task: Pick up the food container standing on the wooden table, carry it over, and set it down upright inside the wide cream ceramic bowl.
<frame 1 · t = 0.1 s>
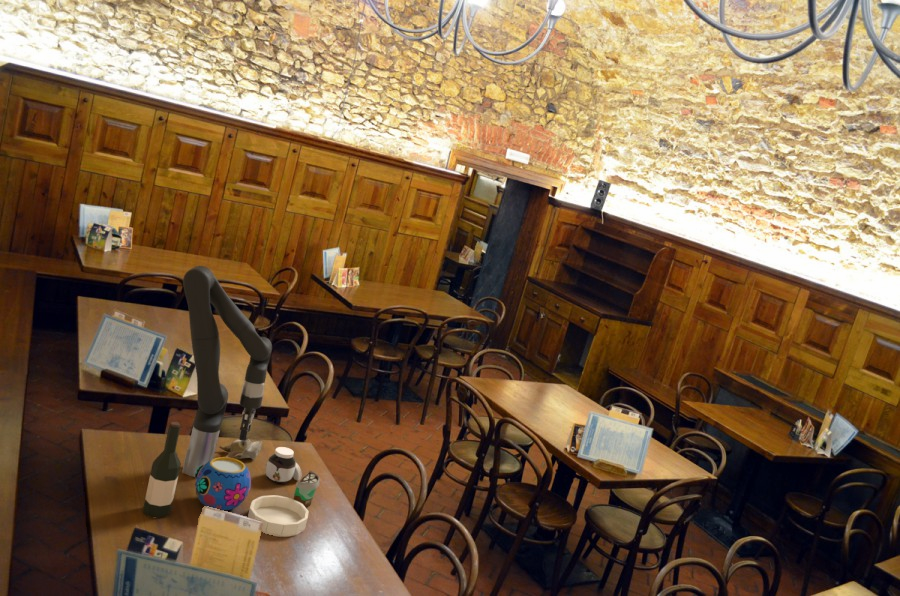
hand: (244, 435, 261), 17 cm above the table, fingers open, 8 cm apart
food container: (305, 504, 260), on the table
bowl: (276, 521, 243), on the table
wine bottle: (156, 512, 230), on the table
ceramic pot: (218, 506, 243), on the table
ceramic sculpture: (239, 458, 282), on the table
spread jar: (282, 479, 274), on the table
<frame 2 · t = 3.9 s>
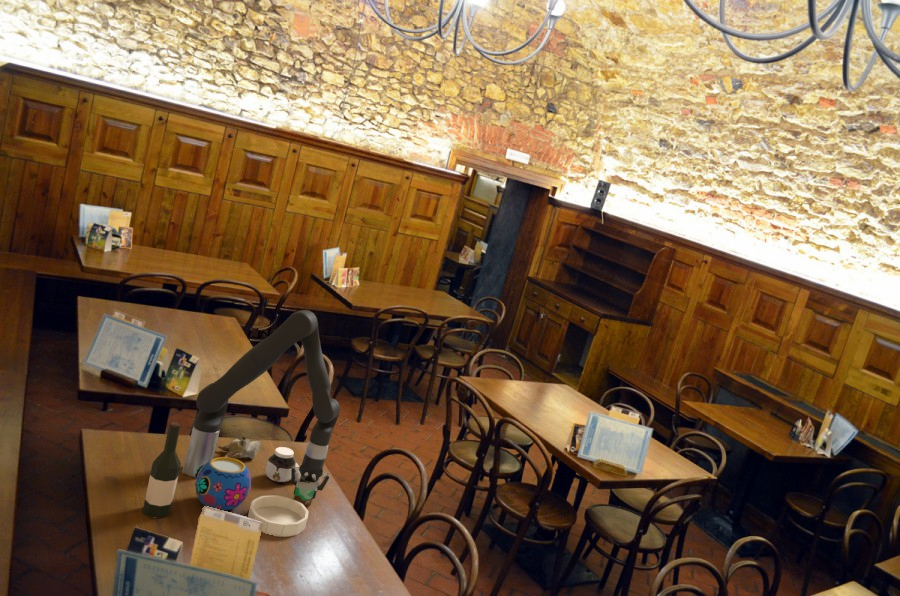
hand: (303, 497, 259), 2 cm above the table, fingers closed on food container, 5 cm apart
food container: (305, 504, 260), on the table, touching gripper
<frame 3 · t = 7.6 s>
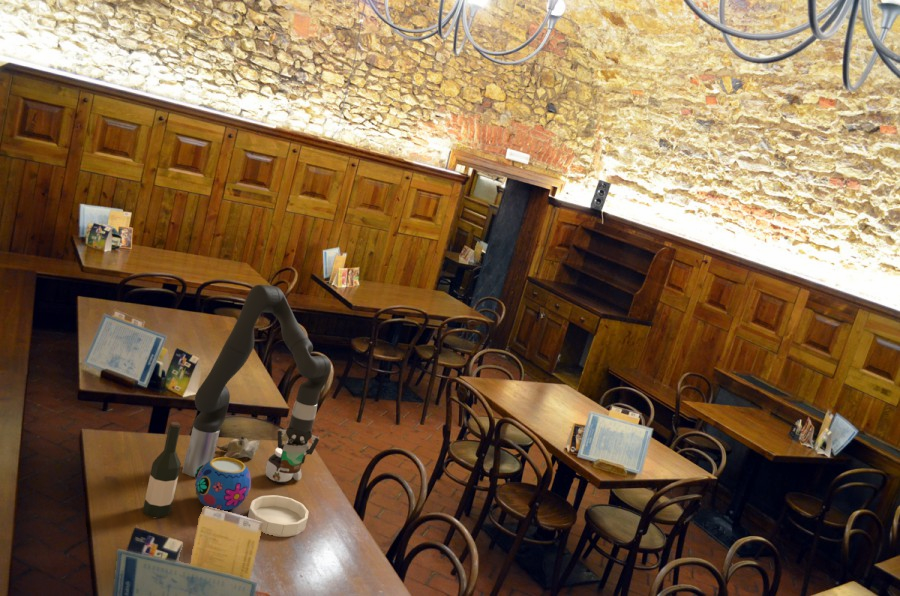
hand: (292, 462, 240), 21 cm above the table, fingers closed on food container, 5 cm apart
food container: (293, 470, 241), point 19 cm above the table, touching gripper
when the fingers open (5 cm above the table, at t = 11.0 s): food container stays where it is, resting on bowl.
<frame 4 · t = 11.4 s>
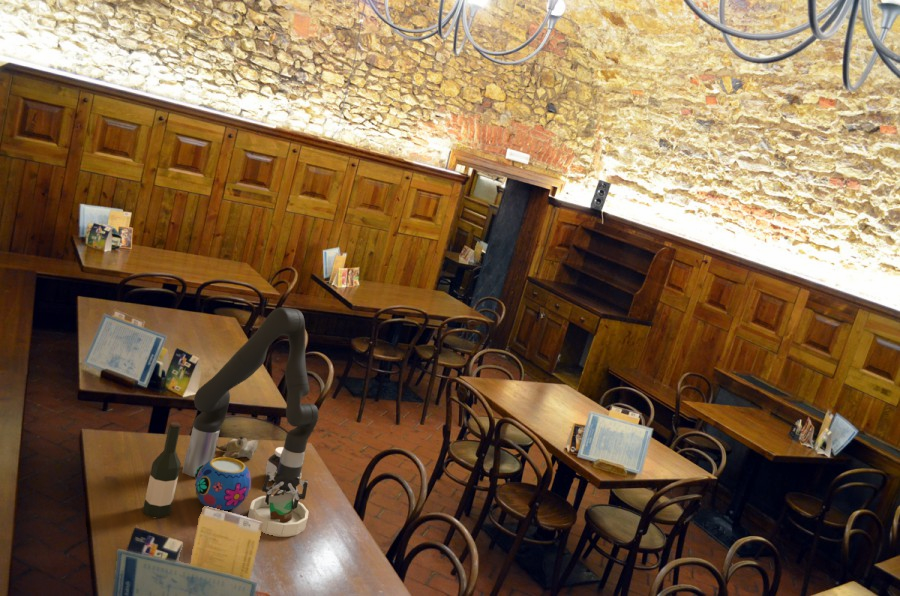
hand: (280, 506, 242), 6 cm above the table, fingers open, 8 cm apart
food container: (285, 519, 243), point 1 cm above the table, touching bowl, gripper
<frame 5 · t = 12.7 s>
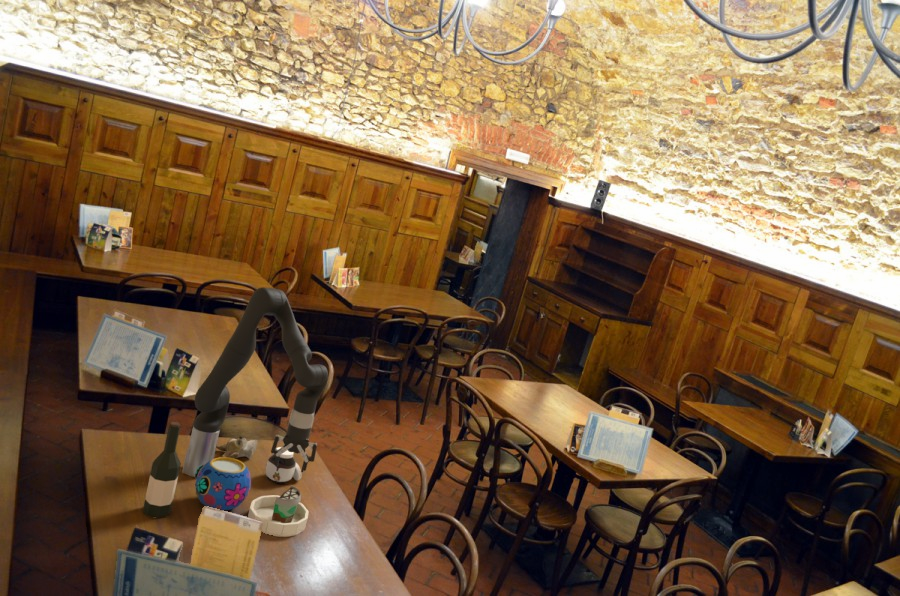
hand: (289, 468, 240), 19 cm above the table, fingers open, 8 cm apart
food container: (285, 521, 243), point 1 cm above the table, touching bowl
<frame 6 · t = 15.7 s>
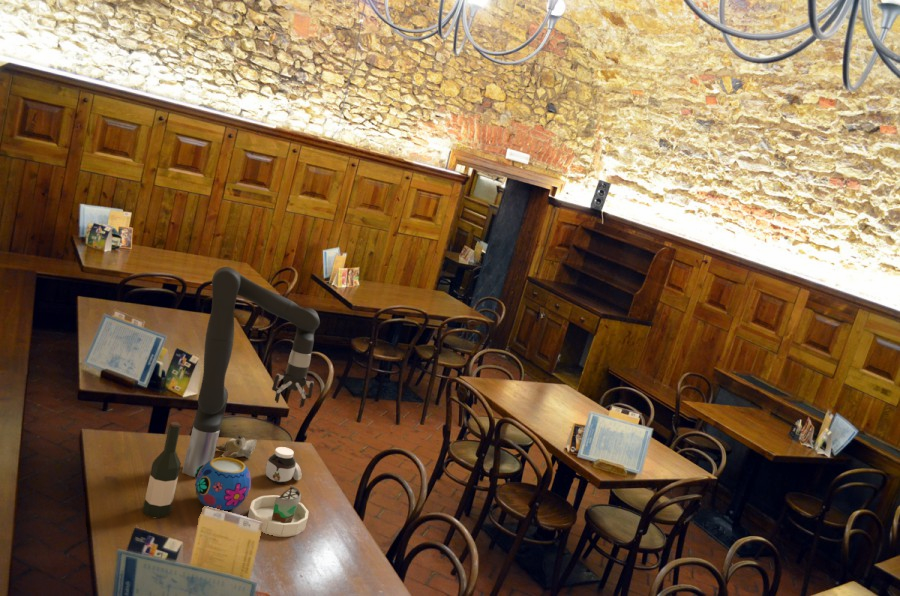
hand: (288, 404, 266), 30 cm above the table, fingers open, 8 cm apart
at the end: food container inside the target area on the bowl (2.7 cm from its centre), point 0.6 cm above the bowl's base; food container tilted 0°; the gripper is holding nothing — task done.
